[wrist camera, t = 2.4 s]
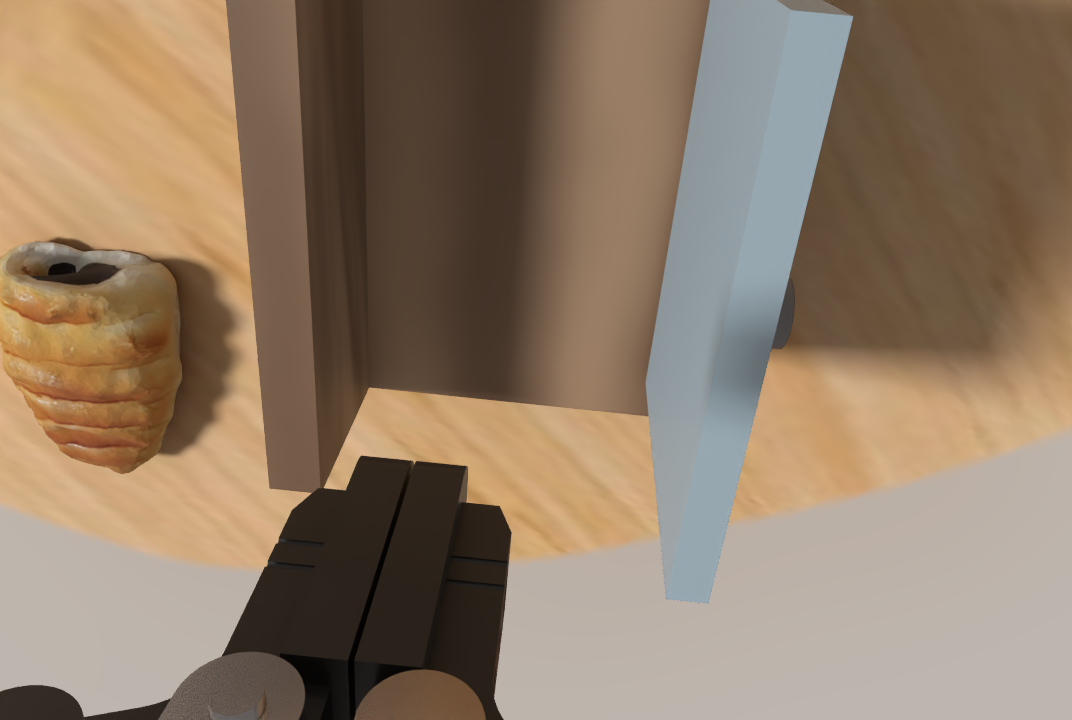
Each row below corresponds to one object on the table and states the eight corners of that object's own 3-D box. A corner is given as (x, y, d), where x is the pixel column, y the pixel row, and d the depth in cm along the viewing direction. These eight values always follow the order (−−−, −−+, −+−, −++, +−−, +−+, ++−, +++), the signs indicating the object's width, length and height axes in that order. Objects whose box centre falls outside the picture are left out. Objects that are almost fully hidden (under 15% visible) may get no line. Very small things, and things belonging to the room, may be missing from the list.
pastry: (207, 456, 36) (167, 514, 33) (49, 436, 36) (-7, 492, 33) (185, 249, 32) (136, 292, 28) (5, 227, 32) (-66, 267, 28)
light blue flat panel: (645, 383, 29) (666, 599, 20) (716, -40, 23) (791, 10, 14) (698, 388, 29) (741, 607, 20) (785, -34, 23) (903, 21, 14)
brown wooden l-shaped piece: (747, -103, 25) (816, -96, 17) (661, 375, 33) (682, 531, 25) (334, -142, 25) (212, -153, 17) (348, 342, 33) (269, 488, 25)
